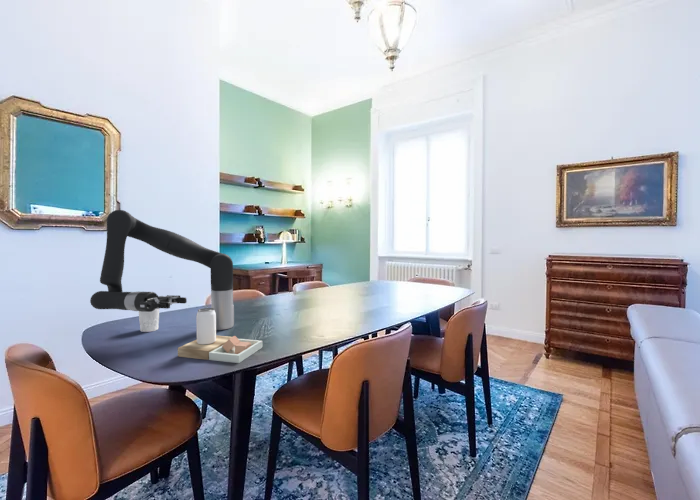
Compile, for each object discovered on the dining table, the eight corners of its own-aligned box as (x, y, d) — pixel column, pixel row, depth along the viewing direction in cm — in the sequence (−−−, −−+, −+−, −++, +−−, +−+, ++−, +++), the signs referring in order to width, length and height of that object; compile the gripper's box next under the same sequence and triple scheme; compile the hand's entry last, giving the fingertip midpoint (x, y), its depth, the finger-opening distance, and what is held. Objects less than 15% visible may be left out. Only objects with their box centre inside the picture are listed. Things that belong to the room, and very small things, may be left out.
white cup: (150, 333, 144) (149, 309, 143) (134, 331, 145) (133, 308, 145) (163, 328, 152) (163, 306, 151) (148, 327, 153) (148, 305, 153)
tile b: (250, 342, 122) (250, 350, 122) (240, 341, 123) (240, 349, 123) (245, 346, 118) (245, 354, 118) (234, 345, 119) (234, 353, 119)
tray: (235, 344, 130) (235, 338, 130) (262, 347, 127) (262, 340, 127) (209, 359, 114) (208, 352, 114) (238, 363, 112) (238, 355, 111)
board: (207, 342, 133) (207, 334, 132) (235, 344, 130) (235, 337, 130) (177, 356, 117) (177, 347, 117) (208, 359, 114) (208, 351, 114)
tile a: (233, 348, 123) (228, 342, 124) (240, 341, 123) (235, 335, 123) (227, 352, 119) (221, 346, 120) (234, 345, 119) (228, 339, 119)
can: (220, 340, 125) (219, 308, 124) (206, 346, 119) (206, 312, 118) (206, 338, 127) (205, 307, 127) (192, 343, 121) (192, 310, 121)
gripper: (124, 295, 123) (162, 296, 119) (155, 288, 137) (190, 289, 133) (126, 315, 123) (163, 317, 120) (156, 306, 137) (191, 308, 134)
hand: (177, 302), depth 126 cm, fingers open, 8 cm apart
